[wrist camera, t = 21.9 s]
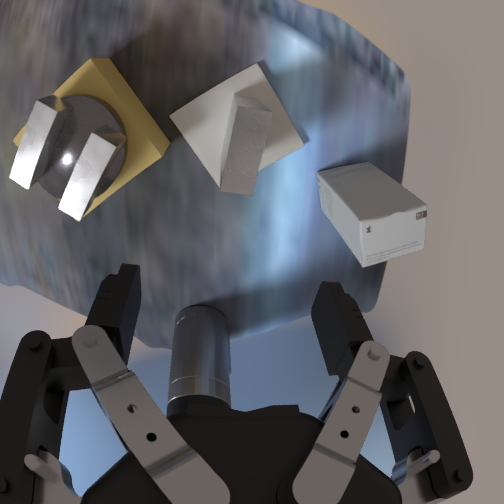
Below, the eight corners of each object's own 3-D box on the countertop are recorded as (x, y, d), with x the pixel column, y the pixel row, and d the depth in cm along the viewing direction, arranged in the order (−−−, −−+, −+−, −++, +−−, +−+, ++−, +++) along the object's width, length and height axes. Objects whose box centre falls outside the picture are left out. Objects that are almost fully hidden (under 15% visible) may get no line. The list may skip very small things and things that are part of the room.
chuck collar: (147, 126, 29) (134, 139, 24) (99, 212, 34) (83, 236, 29) (61, 76, 24) (35, 81, 20) (24, 166, 29) (-1, 184, 24)
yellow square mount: (170, 142, 36) (162, 156, 31) (93, 201, 39) (77, 221, 34) (109, 58, 29) (90, 58, 24) (36, 128, 32) (13, 140, 27)
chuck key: (258, 98, 33) (272, 112, 24) (244, 160, 38) (252, 196, 29) (233, 93, 33) (237, 105, 24) (220, 156, 37) (220, 190, 28)
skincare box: (320, 207, 43) (357, 272, 31) (315, 168, 40) (356, 222, 28) (373, 196, 43) (425, 253, 31) (371, 158, 40) (430, 206, 27)
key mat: (303, 144, 38) (304, 145, 37) (222, 189, 41) (222, 191, 40) (256, 63, 32) (257, 63, 31) (170, 115, 34) (169, 116, 34)
